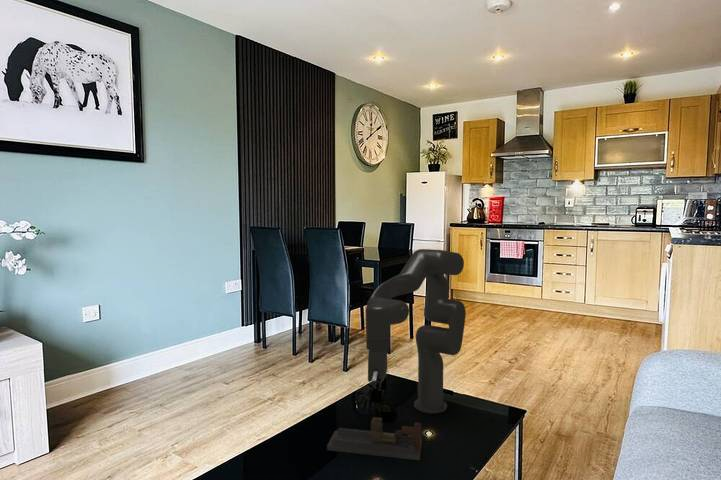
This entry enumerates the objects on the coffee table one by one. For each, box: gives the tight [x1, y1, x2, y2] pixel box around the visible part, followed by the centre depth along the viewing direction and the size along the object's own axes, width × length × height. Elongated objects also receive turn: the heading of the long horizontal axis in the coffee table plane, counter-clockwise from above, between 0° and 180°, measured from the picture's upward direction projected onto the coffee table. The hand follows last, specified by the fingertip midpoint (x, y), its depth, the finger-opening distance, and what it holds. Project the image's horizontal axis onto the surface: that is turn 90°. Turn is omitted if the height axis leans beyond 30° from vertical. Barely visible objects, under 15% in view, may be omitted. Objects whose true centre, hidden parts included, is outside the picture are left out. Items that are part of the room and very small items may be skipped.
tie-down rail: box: [326, 422, 423, 461], centre depth 140 cm, size 10×29×8 cm, turn 78°
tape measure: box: [375, 404, 398, 421], centre depth 160 cm, size 7×7×4 cm
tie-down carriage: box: [370, 416, 409, 445], centre depth 139 cm, size 5×12×7 cm, turn 78°
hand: (379, 395), depth 140 cm, fingers open, 9 cm apart
